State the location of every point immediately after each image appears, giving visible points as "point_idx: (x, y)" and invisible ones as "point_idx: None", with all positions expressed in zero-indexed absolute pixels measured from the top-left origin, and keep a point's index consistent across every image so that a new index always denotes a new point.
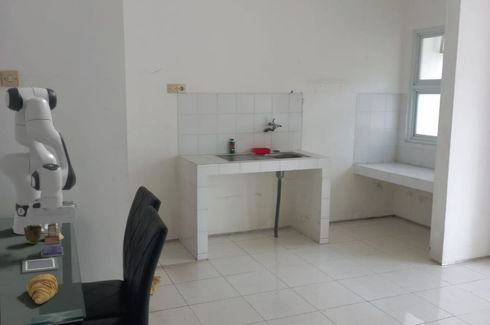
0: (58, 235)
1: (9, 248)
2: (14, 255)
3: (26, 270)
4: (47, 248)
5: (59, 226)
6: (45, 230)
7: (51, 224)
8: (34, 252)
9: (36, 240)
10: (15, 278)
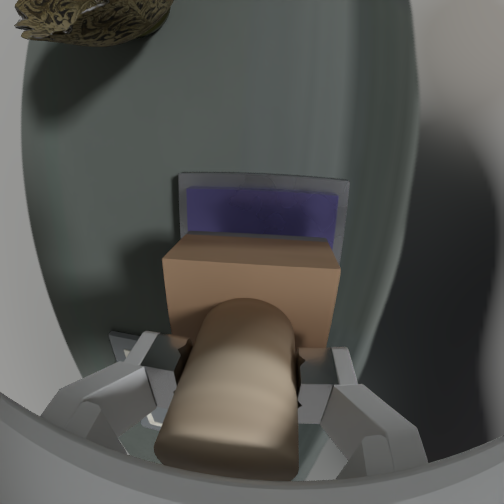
0: (323, 341)
1: (35, 98)
2: (59, 223)
3: (153, 424)
4: (225, 228)
5: (350, 448)
6: (151, 403)
7: (217, 457)
8: (145, 200)
9: (149, 28)
10: (136, 435)
